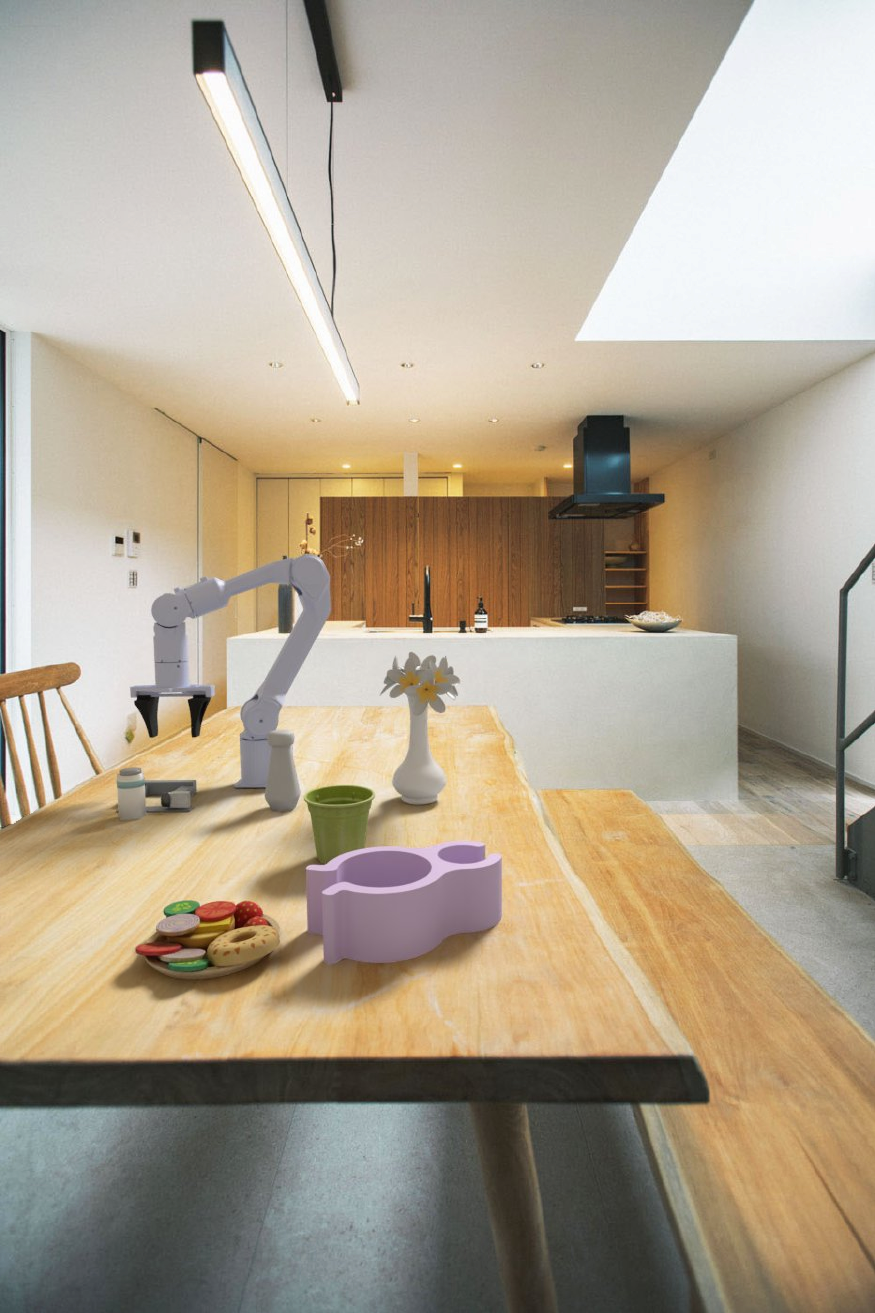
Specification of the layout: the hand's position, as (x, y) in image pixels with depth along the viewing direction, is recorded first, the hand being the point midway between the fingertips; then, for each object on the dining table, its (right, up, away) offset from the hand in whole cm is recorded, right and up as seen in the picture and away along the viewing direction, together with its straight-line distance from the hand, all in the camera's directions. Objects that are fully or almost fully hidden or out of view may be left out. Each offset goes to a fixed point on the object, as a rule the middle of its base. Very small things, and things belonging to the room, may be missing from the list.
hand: (174, 736), depth 125 cm
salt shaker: (+22, -11, -11) cm, 27 cm away
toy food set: (+25, -15, -56) cm, 64 cm away
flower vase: (+45, -10, -7) cm, 47 cm away
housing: (0, -10, -6) cm, 12 cm away
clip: (+44, -14, -52) cm, 70 cm away
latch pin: (+5, -11, -11) cm, 16 cm away
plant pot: (+35, -13, -33) cm, 49 cm away
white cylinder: (-1, -11, -14) cm, 18 cm away
